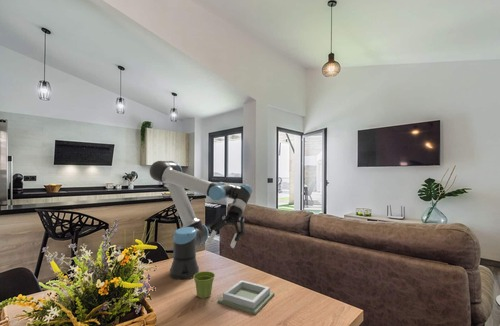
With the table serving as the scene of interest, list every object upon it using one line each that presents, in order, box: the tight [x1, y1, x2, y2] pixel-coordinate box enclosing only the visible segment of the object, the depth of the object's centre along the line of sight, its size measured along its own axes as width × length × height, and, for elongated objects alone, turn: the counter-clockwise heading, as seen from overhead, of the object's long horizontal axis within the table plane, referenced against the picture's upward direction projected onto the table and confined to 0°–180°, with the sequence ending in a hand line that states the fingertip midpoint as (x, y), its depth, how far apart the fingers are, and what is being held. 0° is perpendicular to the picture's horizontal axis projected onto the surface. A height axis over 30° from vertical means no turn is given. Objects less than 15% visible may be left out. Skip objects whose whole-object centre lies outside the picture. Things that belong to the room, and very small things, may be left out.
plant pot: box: [192, 270, 216, 299], centre depth 114 cm, size 9×9×9 cm
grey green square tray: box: [217, 279, 275, 315], centre depth 112 cm, size 18×18×4 cm
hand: (220, 244), depth 125 cm, fingers open, 13 cm apart
